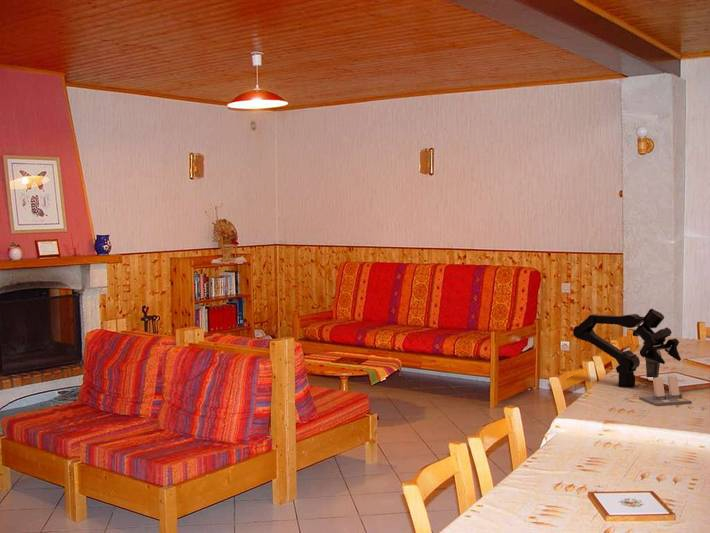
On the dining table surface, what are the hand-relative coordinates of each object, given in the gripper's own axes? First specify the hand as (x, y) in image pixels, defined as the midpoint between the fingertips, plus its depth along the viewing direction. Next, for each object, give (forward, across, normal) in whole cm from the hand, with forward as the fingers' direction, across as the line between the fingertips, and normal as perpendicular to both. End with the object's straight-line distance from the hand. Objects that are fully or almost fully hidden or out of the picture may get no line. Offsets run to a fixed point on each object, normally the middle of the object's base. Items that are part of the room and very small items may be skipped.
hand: (672, 361), depth 345 cm
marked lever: (+13, -7, +5) cm, 16 cm away
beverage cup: (-11, +14, +27) cm, 32 cm away
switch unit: (+13, -11, +7) cm, 19 cm away
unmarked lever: (+12, -14, +6) cm, 19 cm away
